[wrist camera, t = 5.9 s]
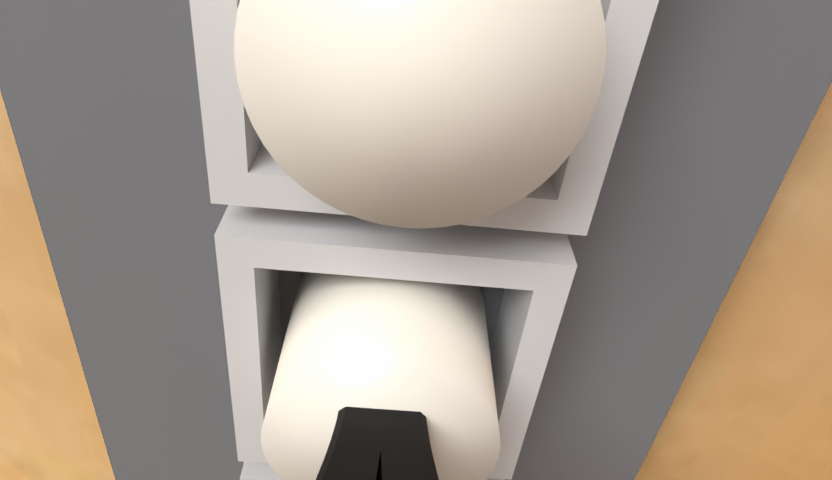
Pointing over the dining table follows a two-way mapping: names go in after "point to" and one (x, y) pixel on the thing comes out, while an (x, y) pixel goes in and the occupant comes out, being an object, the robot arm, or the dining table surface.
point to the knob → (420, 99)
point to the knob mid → (384, 370)
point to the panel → (394, 246)
